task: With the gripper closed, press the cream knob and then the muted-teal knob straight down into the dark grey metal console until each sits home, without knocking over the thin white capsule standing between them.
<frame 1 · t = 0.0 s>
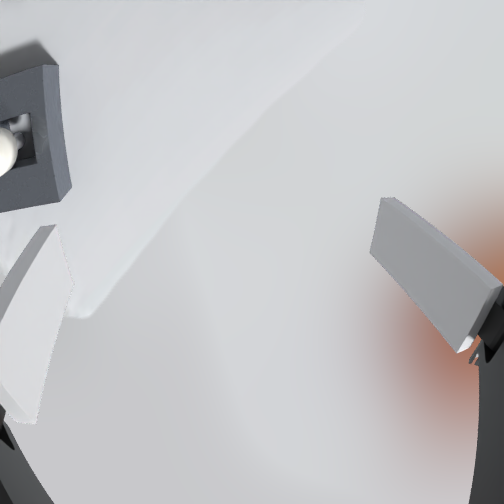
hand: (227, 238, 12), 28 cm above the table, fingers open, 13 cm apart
knob inner: (3, 148, 24), point 7 cm above the table, slide at 0.0 cm
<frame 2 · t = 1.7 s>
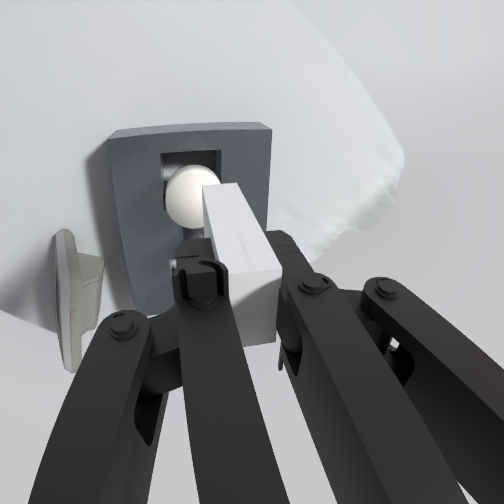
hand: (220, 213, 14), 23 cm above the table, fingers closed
console: (191, 214, 38), on the table
knob inner: (192, 187, 29), point 7 cm above the table, slide at 0.0 cm
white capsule: (194, 233, 34), point 5 cm above the table, touching console
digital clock: (74, 277, 39), on the table
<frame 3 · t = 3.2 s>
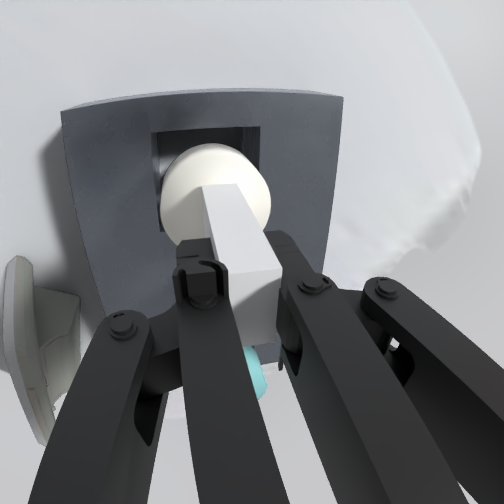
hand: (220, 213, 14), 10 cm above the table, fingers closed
knob outer: (220, 352, 22), point 7 cm above the table, slide at 0.0 cm
console: (204, 232, 25), on the table
knob inner: (208, 183, 17), point 6 cm above the table, slide at 1.5 cm, touching gripper
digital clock: (43, 319, 26), on the table
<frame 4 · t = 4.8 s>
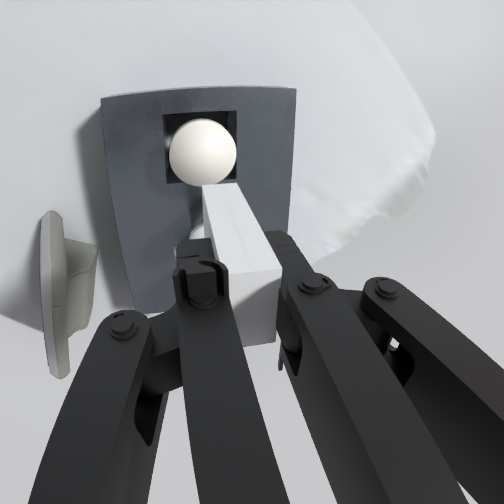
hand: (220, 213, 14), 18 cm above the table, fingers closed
console: (199, 193, 32), on the table
knob inner: (199, 145, 25), point 4 cm above the table, slide at 2.9 cm
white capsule: (203, 213, 28), point 5 cm above the table, touching console
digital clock: (64, 268, 33), on the table
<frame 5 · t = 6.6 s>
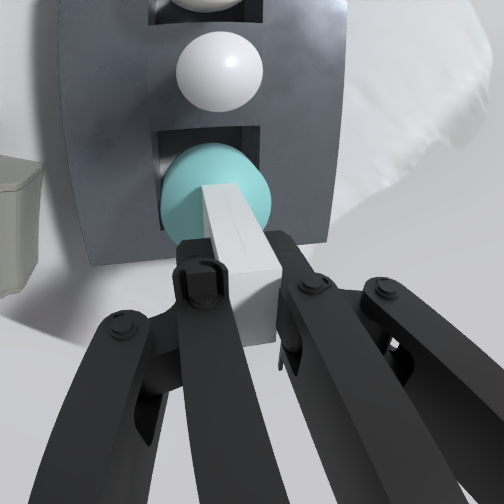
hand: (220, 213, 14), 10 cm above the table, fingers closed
knob outer: (208, 183, 17), point 6 cm above the table, slide at 1.4 cm, touching gripper
console: (199, 75, 19), on the table
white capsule: (205, 73, 14), point 5 cm above the table, touching console
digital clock: (0, 205, 19), on the table
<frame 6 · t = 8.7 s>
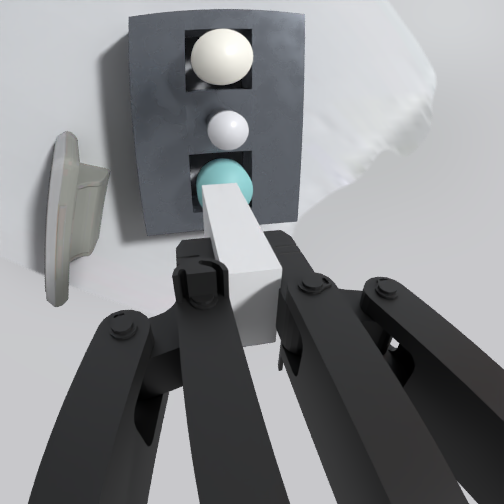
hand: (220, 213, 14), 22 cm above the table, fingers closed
knob outer: (220, 179, 31), point 4 cm above the table, slide at 2.9 cm
console: (214, 115, 31), on the table
knob inner: (217, 59, 25), point 4 cm above the table, slide at 2.9 cm
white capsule: (219, 121, 27), point 5 cm above the table, touching console
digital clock: (72, 196, 32), on the table
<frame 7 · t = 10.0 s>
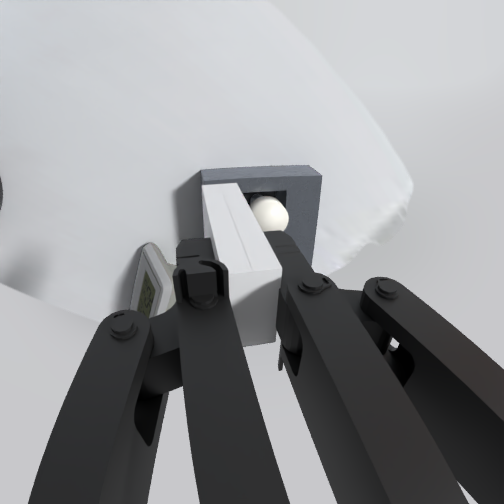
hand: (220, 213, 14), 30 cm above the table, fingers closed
console: (255, 233, 50), on the table
knob inner: (263, 209, 44), point 4 cm above the table, slide at 2.9 cm
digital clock: (151, 281, 51), on the table
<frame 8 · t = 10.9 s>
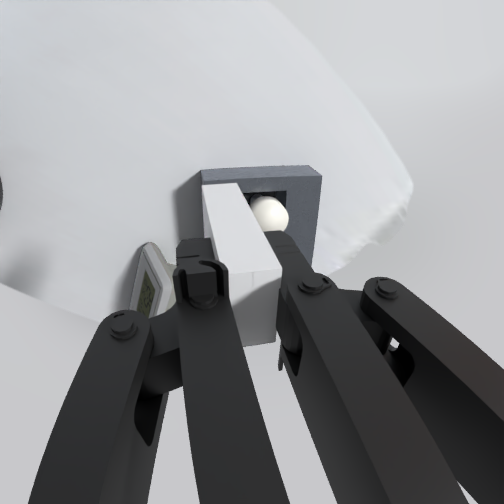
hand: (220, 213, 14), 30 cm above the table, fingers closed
console: (255, 234, 50), on the table
knob inner: (263, 210, 44), point 4 cm above the table, slide at 2.9 cm
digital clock: (151, 281, 51), on the table
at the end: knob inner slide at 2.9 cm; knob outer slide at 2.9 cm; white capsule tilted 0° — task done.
